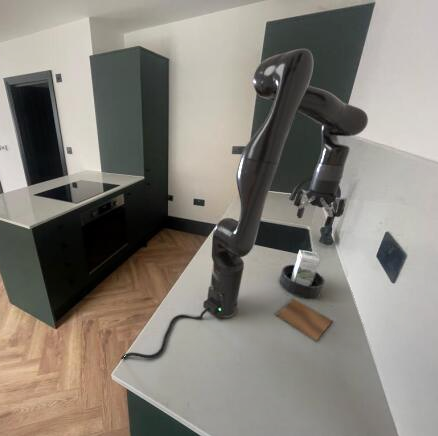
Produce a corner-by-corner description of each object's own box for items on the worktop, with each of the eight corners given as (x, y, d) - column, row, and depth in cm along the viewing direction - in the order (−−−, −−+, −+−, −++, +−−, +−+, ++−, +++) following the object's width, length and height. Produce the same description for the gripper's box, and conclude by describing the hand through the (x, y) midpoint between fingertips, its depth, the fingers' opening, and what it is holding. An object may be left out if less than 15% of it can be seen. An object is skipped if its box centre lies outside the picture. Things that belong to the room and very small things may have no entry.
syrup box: (306, 283, 91) (317, 251, 85) (309, 292, 86) (320, 260, 80) (290, 279, 93) (299, 248, 87) (291, 288, 88) (301, 256, 82)
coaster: (316, 341, 68) (316, 340, 68) (276, 315, 77) (276, 314, 77) (332, 321, 75) (332, 320, 74) (293, 299, 84) (293, 299, 83)
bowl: (310, 305, 81) (314, 293, 79) (272, 284, 91) (275, 273, 89) (326, 289, 88) (330, 277, 86) (289, 271, 98) (292, 260, 96)
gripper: (298, 174, 79) (287, 217, 86) (349, 183, 69) (332, 231, 75) (307, 171, 83) (296, 213, 90) (357, 179, 73) (340, 225, 79)
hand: (312, 221), depth 83 cm, fingers open, 8 cm apart
